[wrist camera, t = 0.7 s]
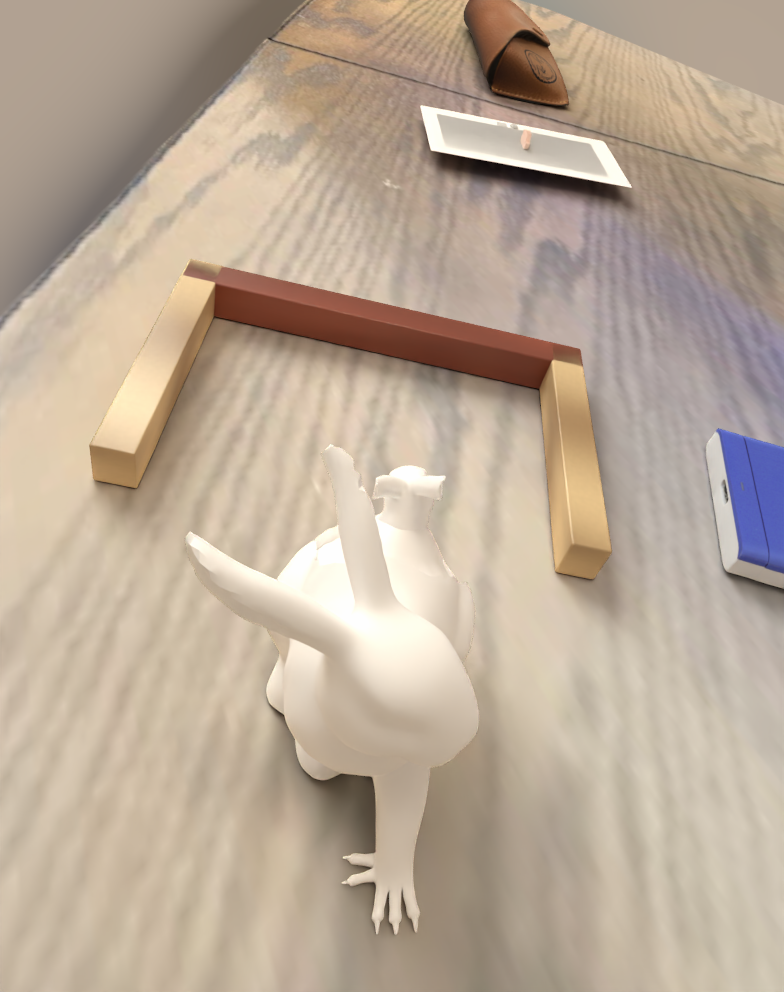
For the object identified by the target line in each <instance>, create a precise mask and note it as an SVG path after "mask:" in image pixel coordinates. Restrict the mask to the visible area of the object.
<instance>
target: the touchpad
mask: <svg viewBox="0 0 784 992" xmlns="http://www.w3.org/2000/svg"><path fill="white" fill-rule="evenodd" d="M420 107H421V111H422V115H423V120H424V124H425V128H426V132H427V136H428V140H429V145H430V149H431V151H436V152H441V153H447V154H452V155H457V156H463V157H468V158H473V159H479V160H484V161H490V162H495V163H500V164H506V165H511V166H516V167H522V168H527V169H532V170H538V171H543V172H549V173H554V174H559V175H565V176H570V177H575V178H581V179H586V180H591V181H597V182H602V183H608V184H613V185H618V186H624V187H629V188H632V187H631V185H630V183H629V182H628V180H627V179H626V177H625V175H624V174H623V172H622V170H621V169H620V167H619V165H618V164H617V162H616V161H615V159H614V157H613V156H612V154H611V152H610V151H609V149H608V147H607V146H606V144H605V142H604V141H599V140H594V139H589V138H584V137H579V136H573V135H568V134H563V133H558V132H553V131H548V130H543V129H538V128H533V127H528V126H523V125H518V124H513V123H508V122H503V121H498V120H493V119H488V118H483V117H478V116H473V115H468V114H463V113H457V112H452V111H447V110H442V109H437V108H432V107H427V106H422V105H420Z"/></svg>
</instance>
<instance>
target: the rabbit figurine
mask: <svg viewBox="0 0 784 992" xmlns="http://www.w3.org/2000/svg"><path fill="white" fill-rule="evenodd" d="M321 456H322V459H323V462H324V465H325V467H326V469H327V472H328V474H329V477H330V480H331V483H332V487H333V491H334V497H335V505H336V511H337V522H338V525H337V526H336V527H334V528H330V529H327V530H326V531H325V532H323V533H322V534H320V535H319V536H318V537H317V538H315V539H314V540H313V541H311V542H310V543H308V544H307V545H306V546H304V547H303V548H302V549H301V550H299V551H298V552H297V553H296V555H295V556H294V557H293V559H292V560H291V561H290V562H289V564H288V565H287V566H286V567H285V569H284V570H283V571H282V573H281V574H280V575H279V577H278V578H277V580H276V579H273V578H271V577H269V576H267V575H264V574H262V573H260V572H257V571H255V570H253V569H251V568H248V567H247V566H245V565H243V564H241V563H239V562H237V561H235V560H234V559H232V558H230V557H229V556H227V555H225V554H224V553H222V552H221V551H219V550H218V549H216V548H215V547H213V546H212V545H210V544H209V543H208V542H206V541H205V540H203V539H202V538H200V537H199V536H197V535H195V534H194V533H192V532H190V531H189V533H188V534H187V536H186V537H185V545H186V550H187V554H188V557H189V560H190V562H191V564H192V566H193V568H194V571H195V574H196V576H197V577H198V579H199V580H200V582H201V583H202V584H203V585H204V586H205V587H206V589H207V590H208V591H209V592H211V593H212V594H213V595H214V596H215V597H216V598H217V599H218V600H219V601H221V602H222V603H223V604H224V605H226V606H227V607H228V608H229V609H230V610H232V611H233V612H234V613H235V614H237V615H238V616H240V617H241V618H243V619H244V620H247V621H249V622H251V623H253V624H256V625H260V626H263V627H265V628H266V629H267V631H268V633H269V635H270V637H271V639H272V641H273V643H274V644H275V646H276V648H277V649H278V651H279V656H278V661H277V663H276V665H275V667H274V670H273V672H272V674H271V676H270V679H269V681H268V684H267V688H266V693H267V698H268V701H269V703H270V704H271V705H272V706H273V707H274V708H275V709H277V710H278V711H279V712H281V713H282V714H284V716H285V721H286V723H287V726H288V728H289V730H290V732H291V733H292V735H293V737H294V738H295V746H296V753H297V757H298V760H299V763H300V765H301V766H302V768H303V769H304V770H305V771H306V772H307V773H308V774H309V775H310V776H312V777H313V778H315V779H318V780H328V779H330V778H333V777H335V776H337V775H339V774H341V773H344V774H352V775H360V776H370V777H372V778H373V783H374V788H375V800H376V852H375V853H370V854H359V853H353V854H352V855H351V856H343V857H342V858H344V859H347V860H348V861H350V864H352V865H363V866H366V867H370V868H372V869H370V870H367V871H365V872H363V873H359V874H354V875H352V876H350V877H349V879H348V880H346V881H343V882H341V883H342V884H349V885H350V886H355V885H358V884H361V883H366V882H374V883H375V885H376V892H375V902H374V909H373V913H372V921H373V922H374V923H375V928H376V934H378V931H379V924H380V921H382V920H383V918H384V907H385V904H386V900H387V894H388V892H389V922H390V923H392V925H393V929H394V934H398V929H399V923H400V922H401V920H402V915H401V892H403V898H404V902H405V905H406V912H407V916H408V918H411V919H412V923H413V927H414V931H415V932H416V933H417V928H418V917H419V916H420V910H419V907H418V904H417V901H416V897H415V890H414V883H413V861H414V852H415V846H416V840H417V836H418V832H419V829H420V825H421V821H422V817H423V814H424V809H425V804H426V799H427V793H428V785H429V777H430V768H432V767H439V766H441V765H444V764H446V763H448V762H449V761H451V760H452V759H453V758H454V757H455V756H456V755H457V754H458V753H459V752H460V751H461V750H462V749H463V748H465V747H466V746H467V745H468V744H469V743H470V742H471V741H472V739H473V738H474V737H475V735H476V734H477V730H478V725H479V710H478V705H477V700H476V697H475V693H474V690H473V687H472V684H471V681H470V679H469V677H468V674H467V672H466V670H465V668H464V666H463V664H462V662H463V661H464V660H465V659H466V657H467V655H468V653H469V651H470V648H471V644H472V639H473V632H474V624H475V604H474V600H473V596H472V592H471V589H470V587H469V585H468V583H467V582H464V583H460V582H458V580H457V578H455V576H454V574H453V573H452V571H451V570H450V569H449V567H448V566H447V565H446V563H445V561H444V559H443V557H442V555H441V552H440V549H439V547H438V545H437V543H436V541H435V539H434V536H433V534H432V532H431V531H430V529H429V528H428V519H429V515H430V513H431V511H432V509H433V506H434V499H435V500H438V501H439V500H441V499H442V489H443V483H444V480H445V478H446V477H445V476H427V473H426V471H425V470H424V469H423V468H420V467H416V466H402V467H399V468H396V469H395V470H393V471H391V472H390V474H389V476H388V475H381V476H380V477H376V483H375V489H374V493H373V496H372V499H377V498H381V497H384V509H383V511H382V513H381V514H378V515H375V513H374V508H373V504H372V501H371V498H370V497H369V495H368V494H367V492H366V490H365V488H364V486H363V483H362V478H361V474H360V473H359V472H357V471H356V470H355V468H354V460H353V459H352V458H351V456H350V455H349V454H348V453H347V452H346V451H344V450H343V449H342V448H341V447H334V446H333V445H332V444H330V445H329V446H328V447H327V448H326V449H325V450H324V451H322V453H321Z"/></svg>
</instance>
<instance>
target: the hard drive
mask: <svg viewBox="0 0 784 992" xmlns="http://www.w3.org/2000/svg"><path fill="white" fill-rule="evenodd" d="M706 460H707V465H708V473H709V478H710V485H711V490H712V496H713V504H714V510H715V517H716V523H717V529H718V536H719V543H720V549H721V556H722V563H723V567H724V568H725V570H726V571H727V572H729V573H733V574H737V575H740V576H744V577H747V578H750V579H753V580H756V581H759V582H762V583H765V584H769V585H772V586H776V587H779V588H783V589H784V447H781V446H777V445H774V444H770V443H767V442H763V441H759V440H756V439H753V438H749V437H746V436H742V435H739V434H736V433H732V432H729V431H726V430H722V429H719V428H718V429H717V430H716V432H715V433H714V435H713V436H712V437H711V439H710V440H709V442H708V443H707V444H706Z"/></svg>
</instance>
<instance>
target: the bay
mask: <svg viewBox="0 0 784 992" xmlns="http://www.w3.org/2000/svg"><path fill="white" fill-rule="evenodd" d="M214 316H216V317H220V318H225V319H229V320H234V321H238V322H242V323H247V324H251V325H256V326H260V327H265V328H269V329H274V330H278V331H283V332H287V333H292V334H296V335H300V336H305V337H309V338H314V339H318V340H323V341H327V342H332V343H336V344H341V345H345V346H350V347H354V348H358V349H363V350H367V351H372V352H376V353H381V354H385V355H390V356H394V357H399V358H403V359H407V360H412V361H416V362H421V363H425V364H430V365H434V366H439V367H443V368H448V369H452V370H457V371H461V372H465V373H470V374H474V375H479V376H483V377H488V378H492V379H497V380H501V381H506V382H510V383H515V384H519V385H523V386H528V387H532V388H537V389H539V390H540V401H541V412H542V424H543V435H544V447H545V458H546V470H547V481H548V493H549V504H550V516H551V527H552V539H553V550H554V561H555V571H556V572H557V573H562V574H567V575H572V576H577V577H582V578H587V579H594V578H595V577H596V575H597V574H598V572H599V571H600V569H601V568H602V566H603V565H604V564H605V562H606V561H607V559H608V558H609V556H610V555H611V553H612V548H611V542H610V535H609V529H608V522H607V516H606V510H605V503H604V497H603V491H602V484H601V478H600V472H599V465H598V459H597V453H596V446H595V440H594V434H593V427H592V421H591V414H590V408H589V402H588V395H587V389H586V383H585V376H584V370H583V364H582V357H581V351H580V349H578V348H574V347H569V346H565V345H561V344H556V343H552V342H548V341H543V340H539V339H535V338H530V337H526V336H522V335H517V334H513V333H509V332H504V331H500V330H496V329H491V328H487V327H483V326H478V325H474V324H470V323H465V322H461V321H457V320H452V319H448V318H444V317H439V316H435V315H431V314H426V313H422V312H418V311H413V310H409V309H405V308H400V307H396V306H392V305H387V304H383V303H379V302H374V301H370V300H366V299H361V298H357V297H353V296H348V295H344V294H340V293H335V292H331V291H327V290H322V289H318V288H314V287H309V286H305V285H301V284H296V283H292V282H288V281H283V280H279V279H275V278H270V277H266V276H262V275H257V274H253V273H249V272H244V271H240V270H236V269H231V268H227V267H223V266H219V265H215V264H211V263H206V262H202V261H198V260H193V259H189V261H188V263H187V265H186V267H185V269H184V271H183V272H182V274H181V276H180V278H179V280H178V282H177V284H176V285H175V287H174V289H173V291H172V293H171V295H170V297H169V298H168V300H167V302H166V304H165V306H164V308H163V310H162V311H161V313H160V315H159V317H158V319H157V321H156V323H155V324H154V326H153V328H152V330H151V332H150V334H149V336H148V337H147V339H146V341H145V343H144V345H143V347H142V348H141V350H140V352H139V354H138V356H137V358H136V360H135V361H134V363H133V365H132V367H131V369H130V371H129V373H128V374H127V376H126V378H125V380H124V382H123V384H122V386H121V387H120V389H119V391H118V393H117V395H116V397H115V399H114V400H113V402H112V404H111V406H110V408H109V410H108V412H107V413H106V415H105V417H104V419H103V421H102V423H101V425H100V426H99V428H98V430H97V432H96V434H95V436H94V438H93V439H92V441H91V443H90V445H89V446H90V455H91V463H92V471H93V479H94V480H97V481H102V482H107V483H112V484H117V485H122V486H127V487H132V488H137V487H138V485H139V483H140V480H141V478H142V476H143V474H144V471H145V469H146V467H147V465H148V462H149V460H150V458H151V456H152V454H153V451H154V449H155V447H156V445H157V442H158V440H159V438H160V436H161V433H162V431H163V429H164V427H165V424H166V422H167V420H168V418H169V415H170V413H171V411H172V409H173V407H174V404H175V402H176V400H177V398H178V395H179V393H180V391H181V389H182V386H183V384H184V382H185V380H186V377H187V375H188V373H189V371H190V369H191V366H192V364H193V362H194V360H195V357H196V355H197V353H198V351H199V348H200V346H201V344H202V342H203V339H204V337H205V335H206V333H207V330H208V328H209V326H210V324H211V322H212V319H213V317H214Z"/></svg>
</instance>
